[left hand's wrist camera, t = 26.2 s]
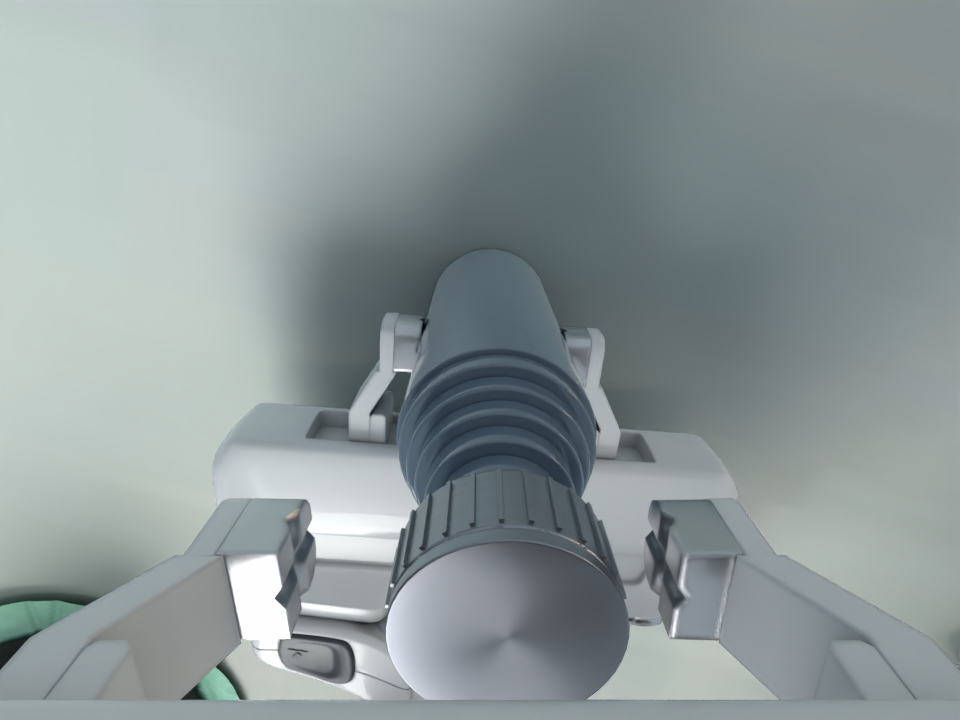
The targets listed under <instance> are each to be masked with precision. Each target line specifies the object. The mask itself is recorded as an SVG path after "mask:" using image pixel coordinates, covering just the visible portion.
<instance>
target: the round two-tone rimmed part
mask: <svg viewBox="0 0 960 720" xmlns="http://www.w3.org/2000/svg"><path fill="white" fill-rule="evenodd" d="M83 607H85V606H83V605H77V604H71V603H66V602H63V601H57V600H55V601H24V602H18V603H12V604H7V605H3V606H0V670H1V669H2V668H3V667H4V665H5V664H6V663H7V662H8V661H9V660H10V659H11V658H12V657H13V655H14V654H15V653H16V652H17V651H18V650H19V649H20V648H21V647H22V645H23V644H24V643H25V642H26V641H27V640H28V639H29V638H30V637H32V636H33V635H35V634H37V633H39V632H40V631H42V630H44V629H46V628H47V627H49V626H51V625H53V624H55V623H56V622H58V621H60V620H62V619H63V618H65V617H67V616H69V615H70V614H72V613H74V612H76V611H78V610H79V609H81V608H83ZM181 700H240V699H239V697H238V696H237V693H236V691H235V689H234V687H233V686H232V684H231V683H230V682H229V680H228V679H227V678H226V676H225V675H223V673H222V672H221V671H219V670H218V669H217V668H216V667H215V668H214V669H213V670H212V671H211V672H209V673H208V674H207V675H206V676H205V677H204V678H203V679H202V680H201V681H200V682H199V683H198V684H197V685H196V686H194V687H193V688H192V689H191V690H190V691H189V692H188V693H187V694H186V695H185V696H184V697H183V698H182V699H181Z"/></svg>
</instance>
